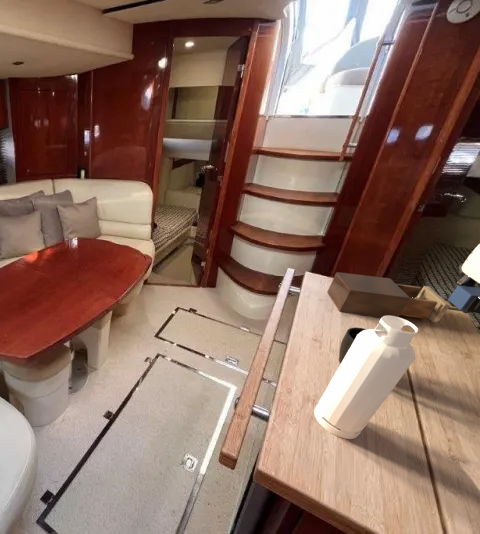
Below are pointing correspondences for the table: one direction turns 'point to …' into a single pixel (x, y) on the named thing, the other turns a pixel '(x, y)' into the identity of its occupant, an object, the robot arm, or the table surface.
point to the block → (463, 296)
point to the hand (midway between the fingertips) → (466, 304)
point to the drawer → (425, 303)
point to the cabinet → (367, 295)
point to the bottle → (366, 377)
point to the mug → (348, 341)
